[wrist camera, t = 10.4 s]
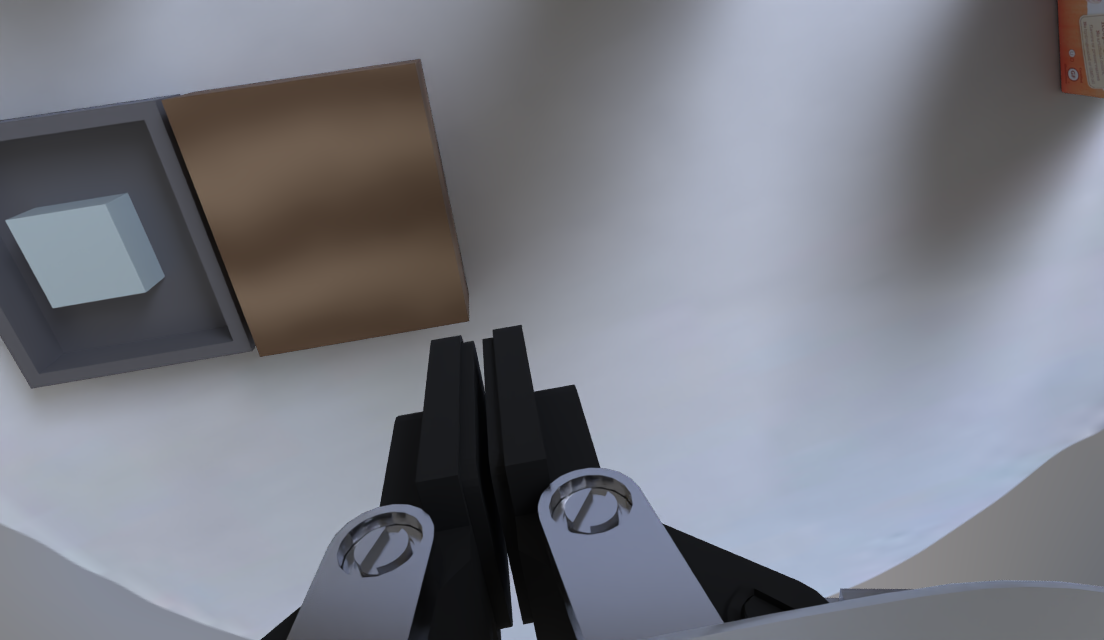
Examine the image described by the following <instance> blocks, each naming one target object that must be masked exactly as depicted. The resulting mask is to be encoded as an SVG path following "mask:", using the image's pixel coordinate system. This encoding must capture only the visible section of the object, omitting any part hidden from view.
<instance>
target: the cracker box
mask: <svg viewBox="0 0 1104 640" xmlns="http://www.w3.org/2000/svg"><path fill="white" fill-rule="evenodd" d="M1058 22H1059V42H1060V66H1061V89H1062V92H1064V93H1070V94H1078V95H1086V96H1092V97H1099V98H1104V0H1058Z"/></svg>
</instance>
